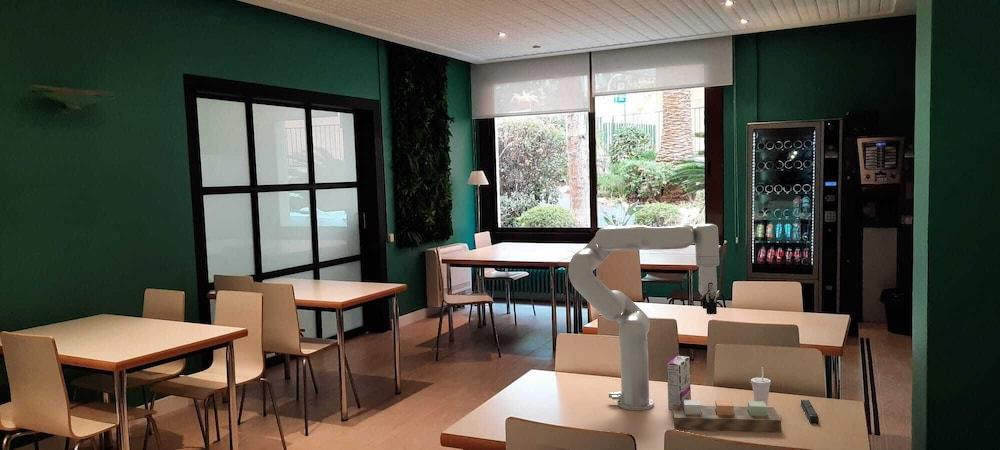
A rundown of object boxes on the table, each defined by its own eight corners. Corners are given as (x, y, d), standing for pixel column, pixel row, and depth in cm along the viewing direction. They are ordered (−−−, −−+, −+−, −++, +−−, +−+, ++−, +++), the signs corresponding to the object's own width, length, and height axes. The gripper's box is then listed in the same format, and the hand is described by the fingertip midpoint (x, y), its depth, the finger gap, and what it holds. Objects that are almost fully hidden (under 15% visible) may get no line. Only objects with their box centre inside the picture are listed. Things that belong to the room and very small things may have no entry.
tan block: (717, 418, 222) (717, 405, 222) (715, 413, 227) (715, 400, 226) (733, 418, 221) (733, 405, 221) (731, 413, 226) (731, 400, 226)
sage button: (750, 419, 220) (750, 406, 220) (747, 413, 225) (747, 401, 225) (767, 419, 219) (767, 406, 219) (764, 414, 224) (764, 401, 224)
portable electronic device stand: (819, 426, 221) (819, 416, 220) (810, 425, 221) (810, 416, 221) (808, 407, 238) (808, 398, 238) (800, 406, 239) (800, 398, 238)
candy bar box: (677, 400, 249) (676, 355, 248) (691, 402, 247) (690, 356, 245) (667, 409, 240) (666, 362, 239) (681, 412, 237) (680, 364, 236)
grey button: (685, 417, 224) (684, 404, 223) (683, 412, 229) (683, 399, 228) (701, 418, 223) (700, 405, 222) (699, 412, 228) (699, 400, 227)
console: (674, 429, 221) (674, 417, 221) (672, 416, 233) (672, 404, 233) (781, 433, 215) (781, 420, 215) (773, 419, 227) (773, 407, 227)
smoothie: (772, 411, 234) (772, 370, 233) (752, 410, 236) (752, 370, 235) (769, 405, 241) (768, 365, 240) (749, 404, 242) (749, 364, 241)
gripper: (692, 258, 243) (694, 306, 245) (699, 264, 226) (701, 316, 227) (715, 257, 242) (717, 306, 243) (723, 263, 225) (725, 316, 226)
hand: (709, 311), depth 235 cm, fingers open, 9 cm apart
